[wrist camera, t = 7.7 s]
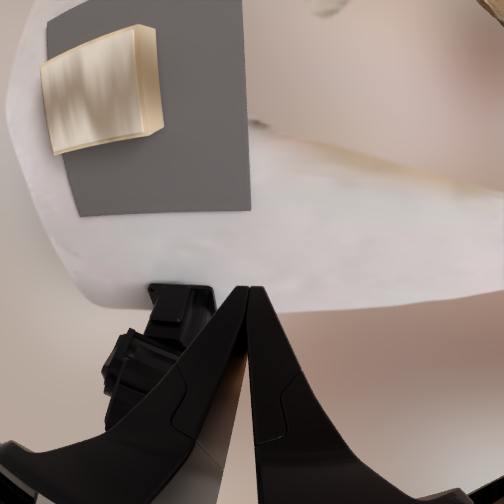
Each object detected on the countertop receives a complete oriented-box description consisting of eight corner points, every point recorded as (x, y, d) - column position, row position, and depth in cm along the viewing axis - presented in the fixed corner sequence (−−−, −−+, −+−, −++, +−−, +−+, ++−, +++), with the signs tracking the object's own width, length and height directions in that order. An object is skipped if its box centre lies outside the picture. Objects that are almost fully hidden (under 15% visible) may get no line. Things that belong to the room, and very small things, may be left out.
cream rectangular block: (147, 136, 14) (52, 156, 15) (165, 126, 16) (74, 144, 17) (136, 23, 10) (37, 65, 10) (156, 29, 12) (62, 62, 13)
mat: (251, 207, 20) (250, 210, 20) (83, 213, 21) (80, 216, 21) (240, -36, 10) (239, -40, 9) (51, 22, 11) (47, 22, 10)
